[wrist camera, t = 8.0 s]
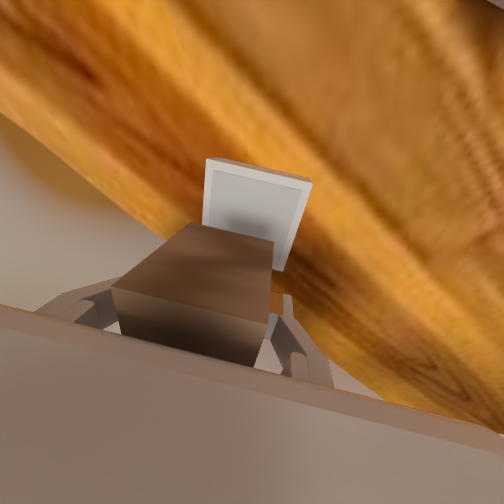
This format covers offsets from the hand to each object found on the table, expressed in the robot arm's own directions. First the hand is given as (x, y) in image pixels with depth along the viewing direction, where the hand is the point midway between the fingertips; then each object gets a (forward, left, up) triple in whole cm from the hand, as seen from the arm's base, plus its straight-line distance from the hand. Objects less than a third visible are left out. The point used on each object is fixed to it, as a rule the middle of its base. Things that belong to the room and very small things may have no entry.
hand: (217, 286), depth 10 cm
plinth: (0, 0, -15) cm, 15 cm away
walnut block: (0, 0, -2) cm, 2 cm away
